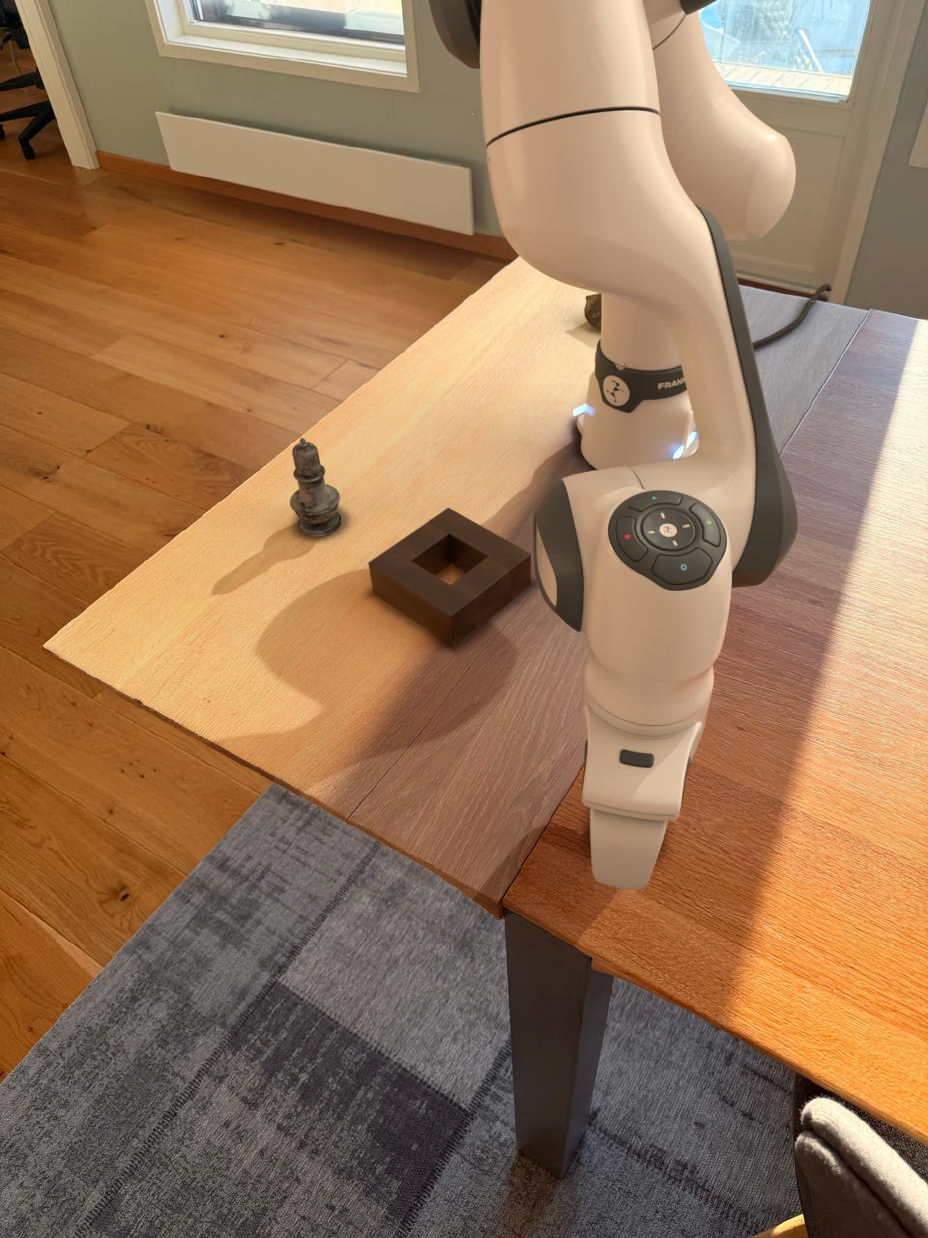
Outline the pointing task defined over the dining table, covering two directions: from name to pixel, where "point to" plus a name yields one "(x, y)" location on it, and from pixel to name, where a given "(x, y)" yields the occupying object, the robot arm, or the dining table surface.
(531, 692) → the dining table surface
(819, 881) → the dining table surface
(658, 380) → the robot arm
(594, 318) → the fossilized seashell
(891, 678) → the dining table surface
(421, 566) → the socket block
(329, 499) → the grey metal finial
